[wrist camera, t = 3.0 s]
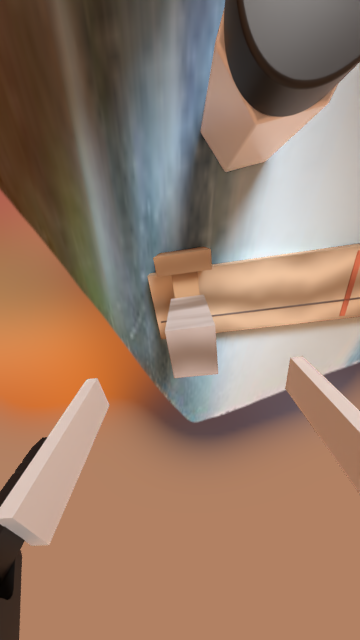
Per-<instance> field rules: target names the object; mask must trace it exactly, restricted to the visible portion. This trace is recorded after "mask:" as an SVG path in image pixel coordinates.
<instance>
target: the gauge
mask: <svg viewBox="0 0 360 640" xmlns="http://www.w3.org/2000/svg"><path fill="white" fill-rule="evenodd" d="M153 259H154V264H155V269H156V275H157V277H161V276H168V275H171V276H172V282H173V289H174V295H175V298H174V299H171V302H170V307H169V312H168V317H167V322H166V327H165V335H166V340H167V344H168V349H169V354H170V359H171V364H172V369H173V374H174V378H181V377H191V376H202V375H212V374H218V364H217V347H216V330H215V323H214V321H213V318H212V315H211V313H210V310H209V307H208V304H207V302H206V299H205V296H204V295H200V293H199V283H198V272H197V271H204V270H211V269H212V261H211V249H209V248H206V247H198V248H192V249H185V250H178V251H172V252H165V253H160V254H158V255H157V256H155V257H154V258H153Z"/></svg>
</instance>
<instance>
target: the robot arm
mask: <svg viewBox="0 0 360 640" xmlns="http://www.w3.org/2000/svg"><path fill="white" fill-rule="evenodd" d="M285 389H286V390H287V392H288V393H289V394H290V396H291V397H292V399H293V400H294V401H295V403H296V404H297V406H298V407H299V409H300V410H301V411H302V413H303V414H304V416H305V417H306V419H307V420H308V421H309V423H310V424H311V426H312V427H313V429H314V430H315V431H316V433H317V434H318V436H319V437H320V438H321V440H322V441H323V443H324V444H325V446H326V447H327V449H328V450H329V451H330V453H331V454H332V455H333V457H334V459H335V460H336V461H337V463H338V464H339V466H340V467H341V468H342V470H343V471H344V473H345V474H346V476H347V477H348V478H349V480H350V481H351V483H352V484H353V486H354V487H355V488H356V490H357V491H358V493H359V494H360V410H358V409H357V408H356V407H355V406H354V405H353V404H352V403H351V402H350V401H349V400H348V399H347V398H345V397H344V396H343V395H342V394H341V393H340V392H339V391H338V390H337V389H336V388H335V387H334V386H333V385H332V384H331V383H330V382H329V381H328V380H327V379H326V378H325V377H324V376H323V375H322V374H321V373H319V372H318V371H317V370H316V369H315V368H314V367H313V366H312V365H311V364H310V363H309V362H308V361H307V360H306V359H305V358H304V357H303V356H301V357H292V358H290V363H289V369H288V376H287V382H286V388H285ZM108 407H109V403H108V401H107V399H106V396H105V394H104V392H103V390H102V388H101V385H100V383H99V381H98V379H97V378H95V379H87V380H86V381H85V383H84V384H83V386H82V387H81V389H80V390H79V392H78V393H77V394H76V396H75V397H74V399H73V401H72V402H71V403H70V405H69V406H68V408H67V409H66V411H65V412H64V414H63V415H62V417H61V418H60V420H59V421H58V423H57V424H56V426H55V427H54V429H53V430H52V432H51V433H50V434H49V436H48V437H45V438H42V439H41V440H40V441H39V442H37V443H36V444H35V445H34V446H33V447H32V448H31V450H30V451H29V453H28V454H27V455H26V457H25V458H24V459H23V462H22V463H21V464H20V465H19V466H18V468H17V469H16V471H15V473H14V474H13V475H12V476H11V478H10V479H9V480H8V482H7V483H6V484H5V486H4V487H3V489H2V490H1V491H0V640H19V625H20V596H21V567H22V554H21V551H20V549H21V547H22V545H23V542H24V541H26V542H27V543H29V544H30V545H32V546H35V545H49V544H50V542H51V539H52V537H53V534H54V532H55V530H56V528H57V525H58V523H59V521H60V518H61V516H62V514H63V512H64V509H65V507H66V505H67V502H68V500H69V498H70V495H71V493H72V491H73V488H74V486H75V484H76V481H77V479H78V477H79V475H80V472H81V469H82V468H83V465H84V463H85V461H86V458H87V456H88V454H89V451H90V449H91V447H92V445H93V442H94V440H95V438H96V435H97V433H98V431H99V428H100V426H101V424H102V421H103V419H104V416H105V415H106V412H107V410H108Z"/></svg>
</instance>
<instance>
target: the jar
mask: <svg viewBox="0 0 360 640" xmlns="http://www.w3.org/2000/svg"><path fill="white" fill-rule="evenodd" d="M359 62H360V0H225V7H224V11H223V15H222V19H221V23H220V26H219V30H218V34H217V38H216V42H215V47H214V53H213V59H212V65H211V72H210V78H209V84H208V89H207V95H206V101H205V107H204V113H203V119H202V125H201V134H202V135H203V137H204V139H205V140H206V142H207V143H208V145H209V147H210V148H211V150H212V152H213V153H214V155H215V157H216V158H217V160H218V161H219V163H220V165H221V166H222V168H223V170H224V171H225V172H228V171H232V170H235V169H239V168H243V167H247V166H251V165H254V164H258V163H262V162H265V161H267V160H268V159H269V158H270V157H271V156H272V155H273V154H274V153H275V152H276V151H277V150H278V149H280V148H281V147H282V146H283V145H284V144H285V143H286V142H287V141H288V140H289V139H290V138H291V137H293V136H294V135H295V134H296V133H297V132H298V131H299V130H300V129H301V128H302V127H303V126H304V125H306V124H307V123H308V122H309V121H310V120H311V119H312V118H313V117H314V116H315V115H316V114H317V113H319V112H320V111H321V110H322V109H323V108H324V107H325V106H326V105H327V104H328V103H329V101H330V99H331V97H332V95H333V93H334V91H335V89H336V87H337V85H338V83H339V82H340V81H341V80H342V79H343V78H344V77H345V76H346V75H347V74H348V73H349V72H350V71H351V70H352V69H353V68H354V67H355V66H356V65H357V64H358V63H359Z"/></svg>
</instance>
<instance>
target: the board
mask: <svg viewBox="0 0 360 640" xmlns="http://www.w3.org/2000/svg"><path fill="white" fill-rule="evenodd" d="M197 272H198V283H199V293H200V295H204V296H205V299H206V302H207V304H208V307H209V310H210V313H211V315H212V318H213V321H214V323H215V330H216V333H220V332H228V331H237V330H246V329H255V328H264V327H272V326H281V325H290V324H299V323H308V322H316V321H325V320H334V319H343V318H352V317H360V243H359V244H352V245H345V246H338V247H331V248H324V249H317V250H310V251H303V252H296V253H289V254H282V255H275V256H268V257H261V258H254V259H247V260H240V261H233V262H226V263H219V264H212V269H211V270H204V271H197ZM148 281H149V285H150V290H151V294H152V299H153V303H154V308H155V312H156V317H157V321H158V326H159V331H160V335H161V339H166V335H165V327H166V322H167V317H168V312H169V307H170V302H171V299H174V298H175V295H174V289H173V282H172V276H171V275H168V276H161V277H157V275H156V273H150V274H149V275H148Z"/></svg>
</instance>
